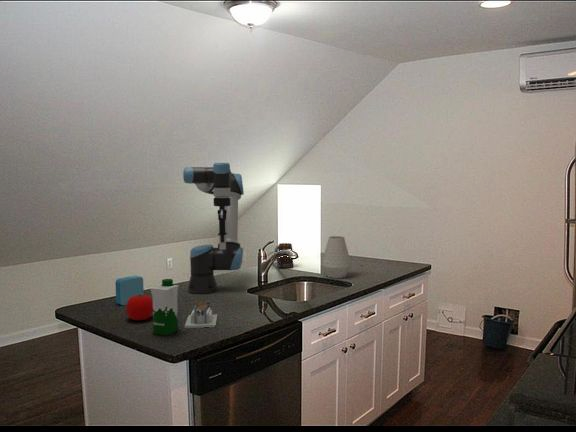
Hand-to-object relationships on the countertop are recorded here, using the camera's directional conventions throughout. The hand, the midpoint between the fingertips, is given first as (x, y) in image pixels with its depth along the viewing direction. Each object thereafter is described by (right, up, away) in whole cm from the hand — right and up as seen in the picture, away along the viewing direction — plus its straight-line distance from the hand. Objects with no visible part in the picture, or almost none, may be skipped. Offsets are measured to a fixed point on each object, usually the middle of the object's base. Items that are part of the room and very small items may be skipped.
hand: (222, 249), depth 222 cm
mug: (+26, -18, +88) cm, 94 cm away
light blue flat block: (-45, -26, +9) cm, 52 cm away
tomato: (-32, -28, -16) cm, 46 cm away
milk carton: (-18, -30, -33) cm, 48 cm away
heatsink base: (-6, -29, -21) cm, 36 cm away
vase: (+58, -20, +64) cm, 88 cm away
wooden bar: (-6, -24, -21) cm, 32 cm away
